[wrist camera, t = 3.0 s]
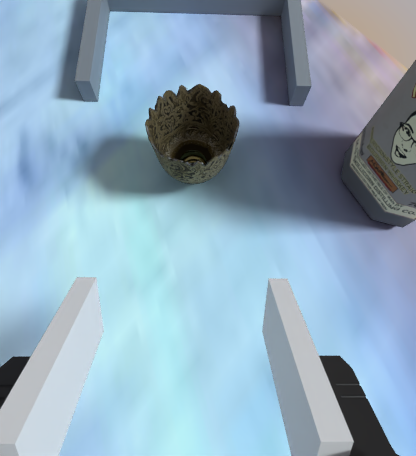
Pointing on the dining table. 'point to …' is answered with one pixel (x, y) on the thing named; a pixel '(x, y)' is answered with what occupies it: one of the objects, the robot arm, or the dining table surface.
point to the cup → (192, 133)
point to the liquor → (387, 158)
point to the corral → (205, 4)
